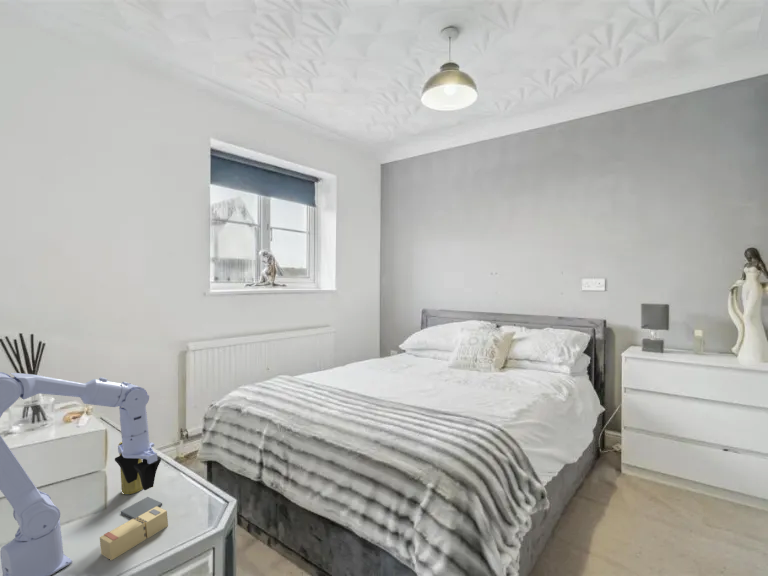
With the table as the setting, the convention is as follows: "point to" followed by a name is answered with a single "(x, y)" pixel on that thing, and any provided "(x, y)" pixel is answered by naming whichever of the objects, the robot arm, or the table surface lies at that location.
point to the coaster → (141, 507)
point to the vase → (133, 486)
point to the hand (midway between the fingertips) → (140, 484)
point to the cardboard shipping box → (122, 538)
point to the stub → (154, 520)
